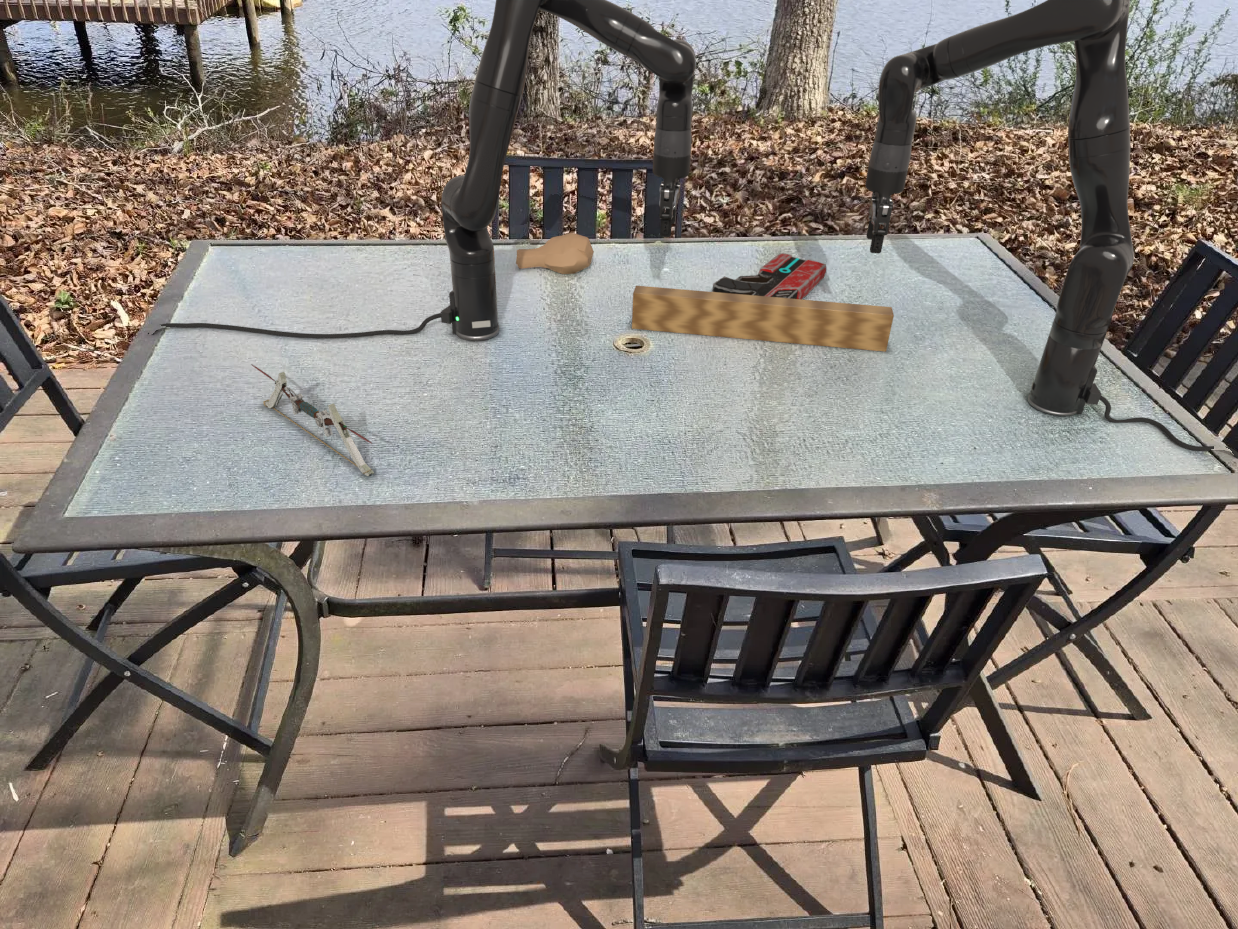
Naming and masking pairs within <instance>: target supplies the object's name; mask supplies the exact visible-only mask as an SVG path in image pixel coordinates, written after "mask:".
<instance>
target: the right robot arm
mask: <svg viewBox="0 0 1238 929" xmlns="http://www.w3.org/2000/svg"><path fill="white" fill-rule="evenodd" d="M1130 5H1131V0H1045V1H1043V2H1041V3H1039V4H1037V5H1035V6H1032V7H1031V8H1028V9H1026V10H1024V11H1021V12H1018V13H1015V14H1012V15H1010V16H1007V17H1004V18H1000V19H997V20H994V21H989V22H987V23H983V24H981V25H977V26H975V27H972V28H968V29H966V30H964V31H961V32H958V33H956V34H953V35H950V36H948V37H946V38H944V39H942V40H940V41H939V42H937V43H934V44H931V45H928V46H925V47H922V48H919V49H916V50H913V51H909V52H906V53H902V54H899V55H896V56H894V57H892V58H890V59H889V60H888V61H886V63H885V65H884V67H883V69H882V70H881V74H880V78H879V82H878V119H877V120H878V121H877V125H876V131H875V137H874V141H873V145H872V148H871V152H870V155H869V161H868V167H867V174H866V178H865V188H866V189H867V190H868V191H869V192H871V196H870V202H869V203H870V204H869V207H868V225H867V226H868V227H867V230H866V231H867V232H866V239H867V240H871V241H870V246H869V252H870V253H871V254H878V255H879V254H881V253H882V249H883V244H884V239H885V236H887V235H888V234H889V228H890V222H891V217H892V211H893V208H894V206H893V205H894V202H893V201H892V200H893V199H892V195H894V194H896V195H897V194H901V193H902V192H904V190H905V187H906V181H907V176H908V172H909V167H910V162H911V157H912V149H913V148H912V147H913V140H914V135H915V131H916V126H917V114H916V112H915V110H913V107H914V98H915V93H916V92H919V91H921V90H924V89H926V88H929V87H931V86H932V87H933V86H934V85H937V84H940V83H941V82H944V81H948V80H949V81H950V80H954V79H958V78H960V77H964V76H967V75H970V74H972V73H975V72H978V71H981V70H983V69H987V68H989V67H992V66H994V65H996V64H1000V63H1002V62H1003V61H1005V60H1008V59H1010V58H1013V57H1016V56H1019V55H1021V54H1024V53H1027V52H1030V51H1033V50H1036V49H1040V48H1044V47H1048V46H1054V45H1058V44H1065V43H1071V42H1073V43H1074V53H1075V66H1076V67H1075V68H1076V70H1075V82H1074V86H1073V87H1074V88H1073V93H1072V98H1071V104H1070V109H1069V115H1068V117H1069V118H1068V123H1067V124H1068V125H1067V144H1068V147H1067V148H1068V163H1069V164H1068V165H1069V170H1070V174H1071V180H1072V182H1073V186H1074V188H1075V192H1076V195H1077V198H1078V201H1079V205H1080V211H1081V213H1080V214H1081V215H1080V216H1081V227H1080V228H1081V229H1080V243H1079V250H1078V251H1077V252H1076V253H1075V254H1074V255H1073V257H1072V259H1071V261H1070V263H1069V266H1068V268H1067V271H1066V274H1065V277H1064V280H1063V284H1062V286H1061V290H1060V294H1059V298H1058V300H1057V304H1056V312H1055V315H1054V318H1053V322H1052V325H1051V328H1050V330H1049V334H1048V337H1047V339H1046V343H1045V346H1044V349H1043V352H1042V355H1041V358H1040V361H1039V365H1038V367H1037V370H1036V374H1035V376H1034V378H1033V380H1032V383H1031V387H1030V392H1029V394H1028V395H1027V402H1028V404H1029V405H1030V406H1031V407H1033V408H1034V409H1035V410H1037V411H1039V412H1041V413H1045V414H1047V415H1051V416H1058V417H1070V416H1074V415H1083V411H1084V409H1085V406H1086V404H1087V405H1094V406H1096V405H1097V406H1098V404H1099V402H1102V403H1103V404H1104V406H1105V411H1104V414H1103V416H1104V419H1105V420H1106V421H1107V422H1108V423H1112V424H1126V423H1127V424H1128V423H1131V424H1132V423H1147V424H1150V425H1152V426H1155V427H1157V428H1158V429H1160V430H1161V431H1162V432H1163V433H1164V435H1165V436H1167V437H1168V439H1169V440H1171V441H1172V442H1173V443H1174V444H1175V445H1177V446H1179V447H1181V448H1183V449H1186V450H1189V451H1195V452H1210V451H1209V450H1211V449H1214V446H1215V445H1204V446H1203V445H1200V446H1199V445H1193V444H1189V443H1186V442H1184V441H1182V440H1180V439H1179V438H1177V437H1176V436H1175V435H1174V434H1173V432H1171V431H1170V430H1169V428H1167V427H1166V426H1165V425H1164V424H1162V423H1161V422H1159V421H1157V420H1155V419H1153V418H1148V417H1143V416H1141V417H1131V418H1125V419H1115V418H1113V417H1112V416H1110V414H1111V411H1112V405H1111V403H1110V401H1109V400H1108V399H1107V398H1106V397H1104V395H1102V392H1101V391H1100V389H1099V387H1098V386H1097V383H1095V379H1096V376H1097V374H1098V369H1097V367H1096V364H1097V362H1098V358H1099V355H1100V352H1101V350H1102V347H1103V344H1104V342H1105V339H1106V336H1107V333H1108V331H1109V328H1110V325H1111V323H1112V320H1113V316H1114V315H1113V314H1114V311H1115V308H1116V305H1117V303H1118V301H1119V300H1118V299H1119V297H1120V294H1121V291H1122V289H1123V286H1124V283H1125V281H1126V278H1127V277H1128V275H1129V274H1130V272H1131V270H1132V268H1133V265H1134V262H1135V261H1134V260H1135V252H1134V245H1133V239H1132V233H1131V226H1130V225H1131V224H1130V217H1129V208H1128V202H1129V201H1128V198H1129V188H1130V168H1131V166H1130V165H1131V121H1130V105H1129V104H1130V103H1129V90H1128V80H1127V71H1126V52H1127V51H1126V48H1127V37H1128V25H1129V17H1130V16H1129V15H1130V7H1131V6H1130ZM881 225H882V226H883V227H882V228H880V227H881ZM1224 446H1225V445H1224ZM1225 447H1226V448H1228V449H1230V450H1231V451H1232V453H1233V454H1234V456H1233V457H1234V459H1237V460H1238V451H1237V450H1235V449H1234V448H1232V447H1229V446H1225Z"/></svg>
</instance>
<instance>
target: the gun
mask: <svg viewBox="0 0 1238 929" xmlns="http://www.w3.org/2000/svg"><path fill="white" fill-rule="evenodd" d="M826 273H827V264H826V263H823V262H820V261H816V260H812V259H802V258H799V257H795V256H793V255H792V254H791V253H784V252H780V253H778V254H777V255H775V256H774V257H773V258H771V259H770V260H768V261H767V262H766V263H765V264H763V265H762V266H761V267H760V269H759V271H758V273H757V274H756V275H753V274H752V275H751V274H750V275H740V276H738V277H737V278H735V279H734V278H731V277H727V276H722V277H720V279H717V281H715V282H713V283H712V291H711V292H719V293H731V294H743V295H754V296H766V297H778V298H790V299H802V300H804V298H805V297H807V296H808V295H809V294H810V293H811V292H812V291H813V290H814V289H815V287H817V285H818V284H820V283H821V282H822V280H823V279H824V278H825V276H826Z"/></svg>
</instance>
